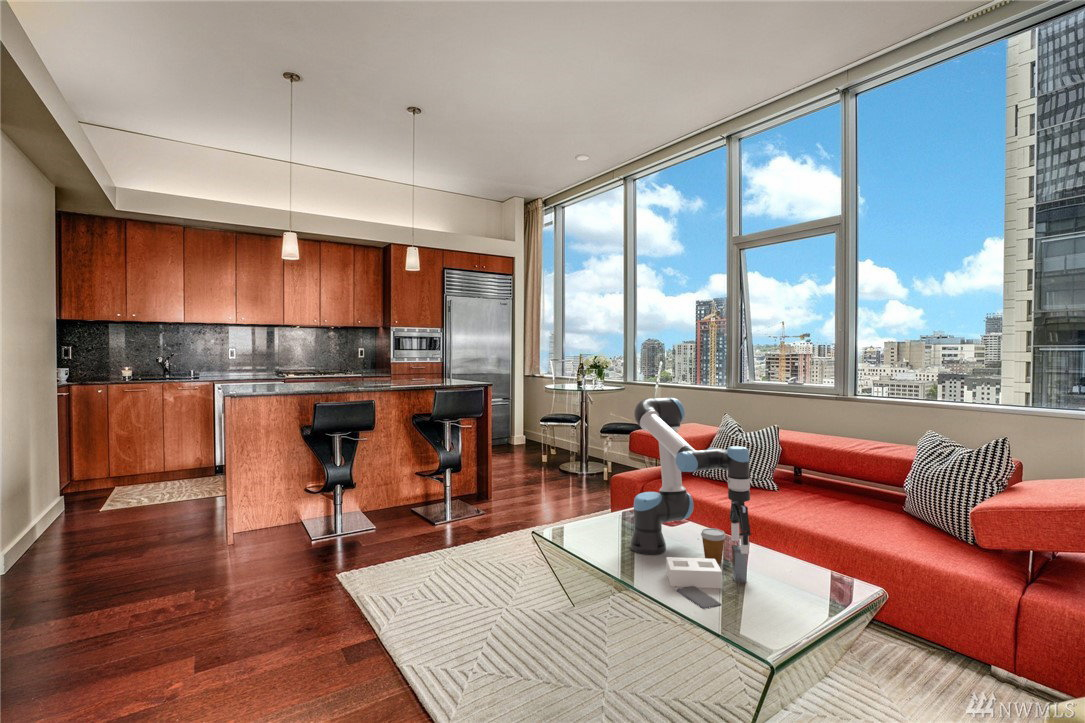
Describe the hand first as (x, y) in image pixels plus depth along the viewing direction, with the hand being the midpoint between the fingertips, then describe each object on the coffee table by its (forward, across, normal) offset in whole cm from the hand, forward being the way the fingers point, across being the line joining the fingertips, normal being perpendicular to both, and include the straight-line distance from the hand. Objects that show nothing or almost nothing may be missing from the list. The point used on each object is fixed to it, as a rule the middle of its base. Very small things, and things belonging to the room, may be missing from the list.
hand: (740, 546), depth 192 cm
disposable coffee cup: (+12, -18, -6) cm, 22 cm away
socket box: (+12, +2, -17) cm, 21 cm away
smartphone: (+13, +16, -18) cm, 27 cm away
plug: (+12, 0, 0) cm, 12 cm away
